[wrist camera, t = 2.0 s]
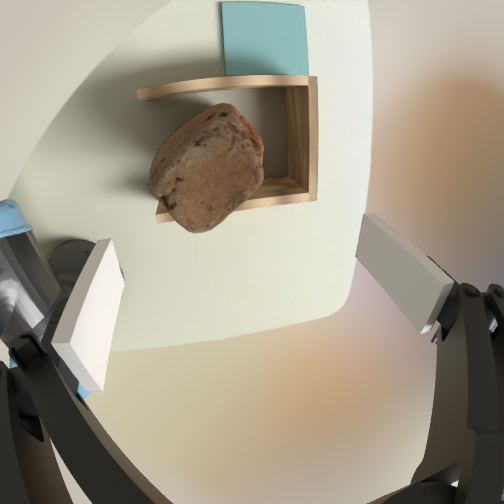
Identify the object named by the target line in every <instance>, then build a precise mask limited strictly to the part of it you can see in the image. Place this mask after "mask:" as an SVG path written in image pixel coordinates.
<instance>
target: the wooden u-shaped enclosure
mask: <svg viewBox="0 0 504 504" xmlns="http://www.w3.org/2000/svg"><path fill="white" fill-rule="evenodd" d="M273 87H286V107H287V139H288V177H278V178H268V179H263V182H262V184H261V186H260V187H259V188H258V189H257V190H256V191H255V192H254V193H253V194H252V195H251V196H250V197H249V198H248V199H247V200H246V201H245V202H244V203H243V204H242V205H241V206H239V207H238V208H237V209H236V210H235V211H239V210H246V209H253V208H260V207H268V206H275V205H283V204H291V203H299V202H308V201H317V185H318V85H317V77H314V76H296V75H246V76H228V77H215V78H205V79H196V80H188V81H181V82H174V83H168V84H162V85H157V86H152V87H147V88H142V89H137V90H136V93H137V100H145V101H148V100H153V99H158V98H164V97H170V96H176V95H183V94H190V93H197V92H206V91H216V90H227V89H242V88H273ZM156 218H157V223H158V224H159V223H164V222H170V221H175V219H174V218H173V217H172V216H171V215H170V214H169V213H168V211H167V210H166V209H165V208H164V206H163V205H162V204H161V202H160V201H159V203H158V207H157V211H156Z"/></svg>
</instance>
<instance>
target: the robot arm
mask: <svg viewBox="0 0 504 504" xmlns="http://www.w3.org/2000/svg"><path fill="white" fill-rule="evenodd" d="M355 257H356V258H357V259H358V260H359V261H360V262H361V263H362V265H364V267H365V268H366V269H367V270H368V271H369V272H370V274H371V275H372V276H373V277H374V278H375V279H376V281H377V282H378V283H379V284H380V285H381V286H382V288H383V289H384V290H385V291H386V292H387V294H388V295H389V296H390V297H391V298H392V299H393V301H394V302H395V303H396V304H397V306H398V307H399V308H400V309H401V311H402V312H403V313H404V314H405V316H406V317H407V318H408V319H409V321H410V322H411V323H412V324H413V326H414V327H415V328H416V329H417V331H418V332H419V333H420V334H422V333H425V332H427V331H430V330H431V329H432V327H433V325H434V324H435V322H436V320H437V321H438V322H439V323H440V325H439V327H438V329H437V331H436V333H435V334H434V336H433V338H432V341H431V342H432V343H433V341H434V340H435V338H437V342H436V344H437V365H436V366H437V367H436V381H435V392H434V401H433V409H432V416H431V423H430V429H429V434H428V440H427V445H426V449H425V454H424V458H423V460H422V462H421V464H420V465H419V466H418V468H417V469H416V471H415V473H414V475H413V478H412V480H411V483H410V485H408V486H406V487H404V488H401V489H399V490H397V491H395V492H392V493H390V494H387V495H385V496H383V497H381V498H378V499H376V500H374V501H372V502H370V503H367V504H504V289H503V288H502V287H501V286H499V285H497V284H490V285H489V287H488V289H487V291H486V293H485V292H484V293H482V292H480V291H479V290H478V289H477V288H475V287H474V286H473V285H470V284H468V283H461V284H460V285H459V284H458V283H457V282H456V281H455V280H454V279H453V278H452V277H451V276H450V275H449V274H448V273H447V272H446V271H445V270H443V269H441V267H440V266H439V265H438V264H436V262H435V261H433V260H432V259H431V258H430V257H428V256H427V255H425V254H424V253H422V252H421V251H420V250H419V249H418V248H417V247H415V246H414V245H413V244H412V243H411V242H409V241H408V240H407V239H406V238H405V237H403V236H402V235H401V234H400V233H399V232H397V231H396V230H395V229H394V228H392V227H391V226H390V225H389V224H387V223H386V222H385V221H383V220H382V219H381V218H380V217H378V216H377V215H376V214H374V213H369V214H363V218H362V224H361V229H360V235H359V240H358V245H357V250H356V255H355ZM124 286H125V283H124V276H123V272H122V270H121V268H120V266H119V263H118V260H117V256H116V253H115V249H114V245H113V242H112V238H111V239H104V240H98V241H97V243H96V244H94V243H92V242H89V241H84V240H72V241H68V242H65V243H63V244H61V245H60V246H58V247H57V248H56V249H55V251H54V252H53V253H52V255H51V256H50V258H49V260H47V258H46V257H45V255H44V253H43V251H42V250H41V248H40V246H39V244H38V242H37V240H36V238H35V236H34V234H33V232H32V227H31V226H30V225H29V224H28V222H27V220H26V219H25V217H24V215H23V213H22V211H21V209H20V207H19V205H18V204H17V203H16V202H15V201H13V200H10V199H7V200H3V201H1V202H0V339H1V340H2V341H3V342H4V344H5V345H6V346H7V347H8V348H9V356H10V368H8V367H7V366H6V365H5V364H4V362H2V361H0V504H73V502H72V499H71V497H70V495H69V492H68V490H67V488H66V485H65V483H64V480H63V478H62V475H61V472H60V469H59V466H58V463H57V461H56V458H55V454H54V451H53V448H52V444H51V441H50V438H51V440H52V442H53V444H54V446H55V448H56V449H57V451H58V453H59V455H60V457H61V458H62V460H63V461H64V463H65V465H66V466H67V468H68V469H69V471H70V473H71V474H72V476H73V477H74V479H75V480H76V482H77V483H78V485H79V486H80V487H81V489H82V490H83V492H84V493H85V494H86V496H87V497H88V498H89V500H90V501H91V502H92V504H173V503H172V502H171V501H169V500H168V499H167V498H166V497H165V496H164V495H163V494H162V493H161V492H160V491H159V490H158V489H157V488H156V487H155V486H154V485H152V484H151V483H150V482H149V481H148V479H147V478H146V477H145V476H144V475H143V474H142V473H141V472H140V471H139V470H138V469H137V468H136V467H135V466H134V465H133V463H132V462H131V461H130V460H129V459H128V458H127V457H126V456H125V454H124V453H123V452H122V451H121V450H120V448H119V447H118V446H117V445H116V443H115V442H114V441H113V440H112V439H111V437H110V436H109V435H108V433H107V432H106V431H105V429H104V428H103V427H102V425H101V424H100V423H99V421H98V420H97V418H96V417H95V416H94V414H93V413H92V411H91V410H90V408H89V407H88V405H87V404H86V402H85V401H84V398H86V397H87V396H88V395H89V394H90V393H91V391H100V392H103V388H104V381H105V374H106V368H107V363H108V357H109V352H110V346H111V341H112V336H113V332H114V327H115V322H116V318H117V314H118V310H119V305H120V301H121V299H122V295H123V291H124ZM495 321H497V323H498V326H497V327H496V329H495V331H494V332H493V333H492V331H491V328H492V326H493V324H494V323H495ZM458 480H459V481H458ZM455 481H458V486H457V487H455V486H452V485H451V484H452V483H453V482H455ZM502 495H503V497H502ZM501 499H502V500H501Z"/></svg>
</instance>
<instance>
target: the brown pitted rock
mask: <svg viewBox="0 0 504 504" xmlns="http://www.w3.org/2000/svg"><path fill="white" fill-rule="evenodd" d="M263 151H264V145H263V140H262V138H261V136H260V135H259V133H258V132H257V131H256V130H255V128H254V127H253V126H252V125H251V124H250V123H249V122H248V121H247V120H246V119H245V118H244V117H243V116H242V115H241V114H240V113H239V112H238V111H237V109H236V108H235V107H234V106H232V105H230V104H225V103H221V104H217V105H215V106H212V107H210V108H208V109H206V110H205V111H203V112H201V113H199V114H197V115H196V116H194V117H193V118H191V119H190V120H188V121H187V122H186V123H184V124H183V125H182V126H181V127H180V128H179V129H177V130H176V131H175V132H174V133H173V134H172V135H171V136H170V137H169V138H168V139H167V140H166V141H165V142H164V144H163V145H162V146H161V148H160V149H159V151H158V152H157V154H156V156H155V158H154V160H153V163H152V166H151V170H150V178H149V183H148V186H149V188H150V190H151V192H152V193H153V194H154V195H155V197H156V198H157V199H158V200H159V201H160V202H161V204H162V205H163V206H164V208H165V209H166V210H167V211H168V213H169V214H170V215H171V216H172V217H173V218H174V219H175V221H176V222H177V223H178V224H179V225H181V226H182V227H183V228H185V229H186V230H187V231H189V232H192V233H203V232H206V231H209V230H211V229H213V228H214V227H216V226H217V225H218V224H220V223H221V222H222V221H223V220H224V219H225V218H226V217H227V216H228V215H229V214H231V213H232V212H233V211H235V210H236V209H237V208H238V207H239V206H241V205H242V204H243V203H244V202H245V201H246V200H247V199H248V198H249V197H250V196H251V195H252V194H253V193H254V192H255V191H256V190H257V189H258V188H259V187H260V186H261V184H262V182H263V179H264V172H263V168H262V161H263Z"/></svg>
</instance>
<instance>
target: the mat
mask: <svg viewBox="0 0 504 504" xmlns="http://www.w3.org/2000/svg"><path fill="white" fill-rule="evenodd" d="M221 7H222V24H223V40H224V56H225V71H226V76H239V75H303V76H309V64H308V47H307V33H306V20H305V9H304V6H297V5H288V4H278V3H262V2H222V3H221Z"/></svg>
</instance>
